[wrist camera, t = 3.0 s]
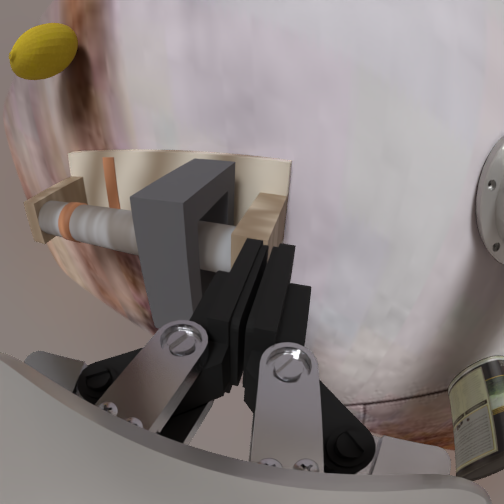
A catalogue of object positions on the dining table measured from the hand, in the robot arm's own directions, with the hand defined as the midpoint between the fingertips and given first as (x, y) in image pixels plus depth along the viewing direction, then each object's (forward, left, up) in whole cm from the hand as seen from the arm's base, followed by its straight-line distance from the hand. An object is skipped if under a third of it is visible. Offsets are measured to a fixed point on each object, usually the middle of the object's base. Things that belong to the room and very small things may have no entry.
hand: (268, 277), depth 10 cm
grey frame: (+6, +3, -10) cm, 12 cm away
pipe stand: (+12, +3, -12) cm, 17 cm away
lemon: (+22, -12, -12) cm, 28 cm away
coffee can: (-29, +21, -12) cm, 38 cm away
